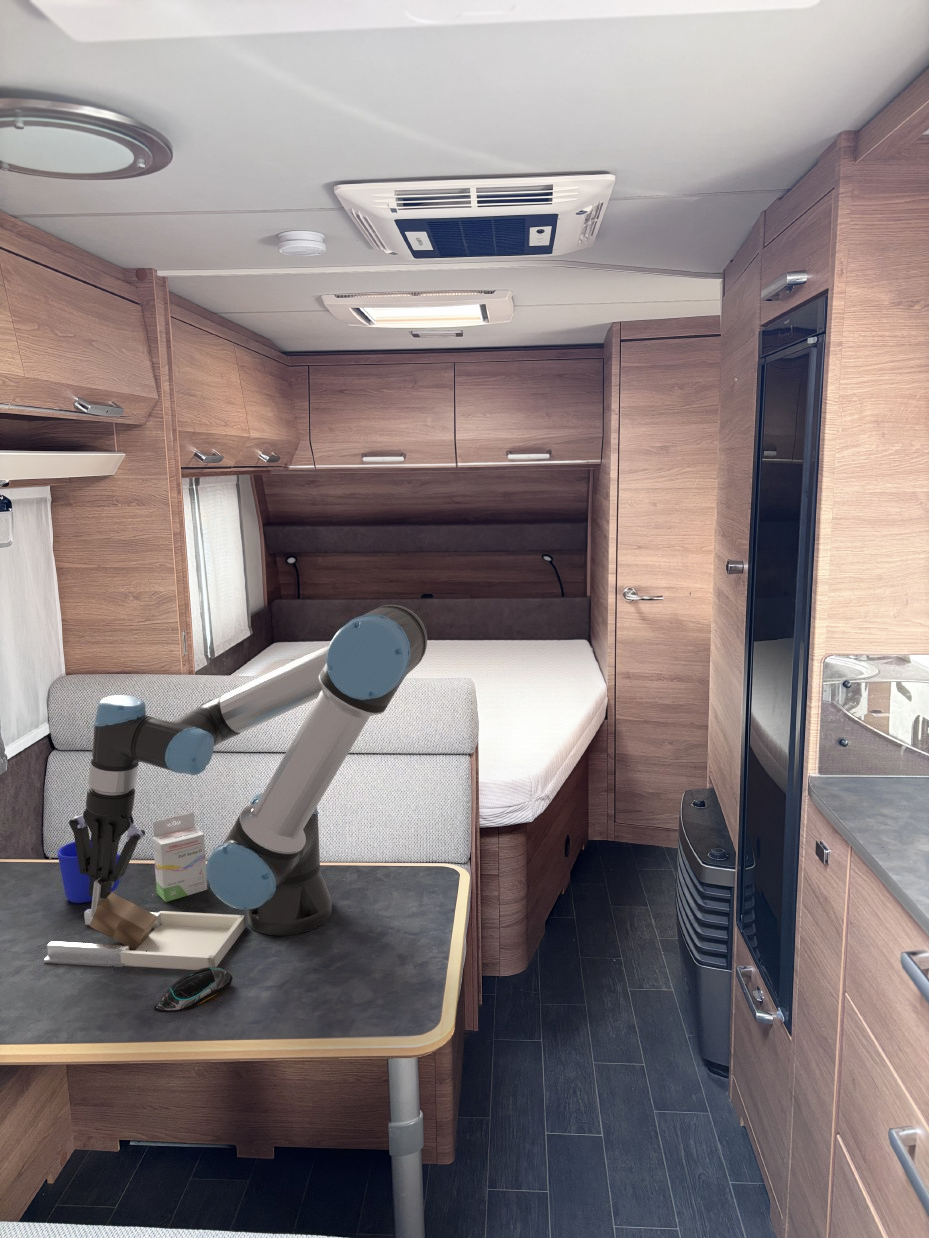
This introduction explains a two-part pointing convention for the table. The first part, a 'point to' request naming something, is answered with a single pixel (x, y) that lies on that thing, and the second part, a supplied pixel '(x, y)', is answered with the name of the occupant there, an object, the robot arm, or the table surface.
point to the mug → (75, 875)
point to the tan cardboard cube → (134, 927)
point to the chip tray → (187, 941)
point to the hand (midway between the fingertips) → (97, 912)
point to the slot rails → (89, 950)
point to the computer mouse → (194, 989)
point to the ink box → (179, 857)
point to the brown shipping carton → (110, 914)
